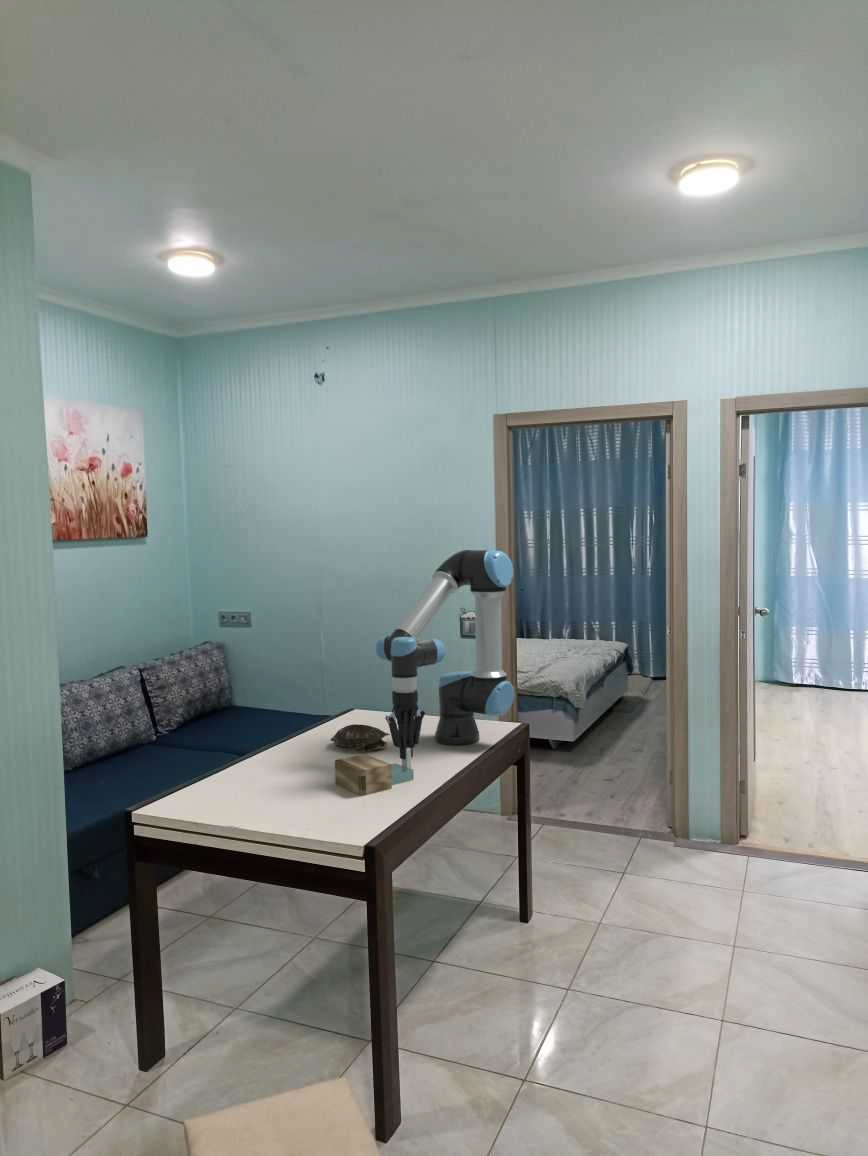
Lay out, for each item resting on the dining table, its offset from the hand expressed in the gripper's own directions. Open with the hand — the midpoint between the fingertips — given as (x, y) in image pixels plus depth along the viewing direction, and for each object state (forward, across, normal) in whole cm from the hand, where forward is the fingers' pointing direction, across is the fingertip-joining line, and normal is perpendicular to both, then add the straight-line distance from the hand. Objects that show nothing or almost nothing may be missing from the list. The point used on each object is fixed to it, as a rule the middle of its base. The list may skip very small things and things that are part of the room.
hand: (406, 769), depth 254 cm
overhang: (+2, +15, 0) cm, 15 cm away
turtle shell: (+2, -7, -37) cm, 37 cm away
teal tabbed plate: (+2, +8, 0) cm, 8 cm away
